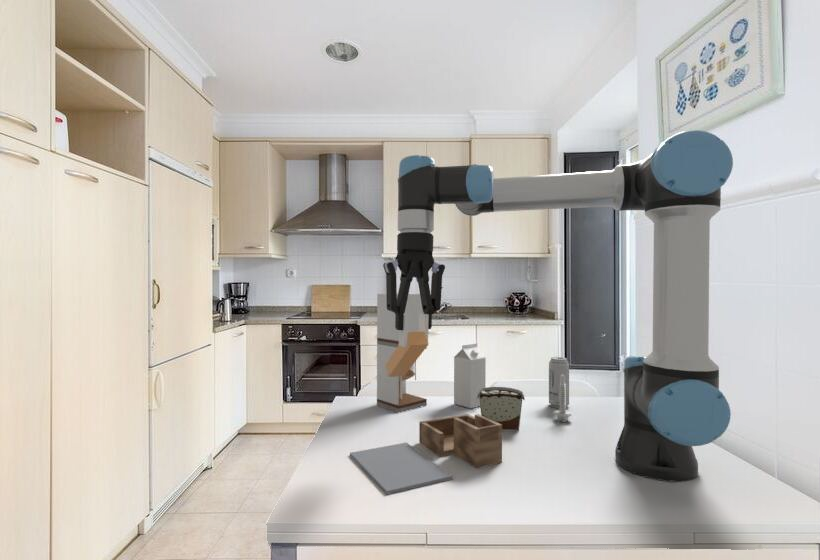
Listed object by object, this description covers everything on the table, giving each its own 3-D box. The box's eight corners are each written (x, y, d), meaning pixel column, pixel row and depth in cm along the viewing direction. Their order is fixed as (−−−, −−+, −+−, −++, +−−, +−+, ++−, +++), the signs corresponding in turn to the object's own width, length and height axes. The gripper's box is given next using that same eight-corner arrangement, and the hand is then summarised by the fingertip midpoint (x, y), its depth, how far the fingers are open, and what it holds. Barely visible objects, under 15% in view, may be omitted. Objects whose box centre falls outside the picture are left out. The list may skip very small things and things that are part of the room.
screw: (568, 417, 124) (574, 423, 119) (551, 417, 124) (556, 423, 119) (568, 372, 124) (574, 376, 119) (551, 372, 124) (556, 375, 120)
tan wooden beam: (428, 344, 88) (424, 331, 90) (411, 345, 87) (407, 332, 88) (404, 375, 98) (401, 363, 100) (388, 377, 97) (385, 365, 98)
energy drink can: (545, 404, 139) (545, 356, 139) (562, 403, 140) (562, 356, 140) (554, 409, 133) (554, 360, 133) (572, 408, 134) (572, 359, 134)
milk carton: (453, 404, 138) (453, 344, 138) (468, 400, 143) (468, 342, 143) (470, 409, 133) (471, 346, 133) (485, 404, 137) (485, 344, 138)
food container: (521, 423, 119) (521, 386, 119) (524, 431, 113) (524, 392, 113) (475, 421, 120) (475, 385, 120) (476, 429, 114) (477, 391, 114)
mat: (452, 478, 85) (452, 475, 85) (386, 494, 79) (386, 491, 79) (406, 445, 103) (406, 442, 103) (349, 455, 96) (350, 452, 96)
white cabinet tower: (399, 412, 129) (399, 294, 129) (376, 405, 136) (377, 293, 137) (426, 405, 136) (426, 293, 137) (404, 398, 144) (404, 293, 144)
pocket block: (515, 459, 95) (515, 422, 95) (461, 471, 88) (461, 432, 88) (467, 433, 111) (467, 402, 111) (419, 442, 104) (419, 409, 104)
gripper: (441, 237, 97) (439, 341, 97) (370, 231, 90) (368, 345, 90) (460, 233, 91) (458, 346, 91) (384, 228, 83) (382, 350, 83)
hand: (413, 345), depth 90 cm, fingers closed on tan wooden beam, 4 cm apart
